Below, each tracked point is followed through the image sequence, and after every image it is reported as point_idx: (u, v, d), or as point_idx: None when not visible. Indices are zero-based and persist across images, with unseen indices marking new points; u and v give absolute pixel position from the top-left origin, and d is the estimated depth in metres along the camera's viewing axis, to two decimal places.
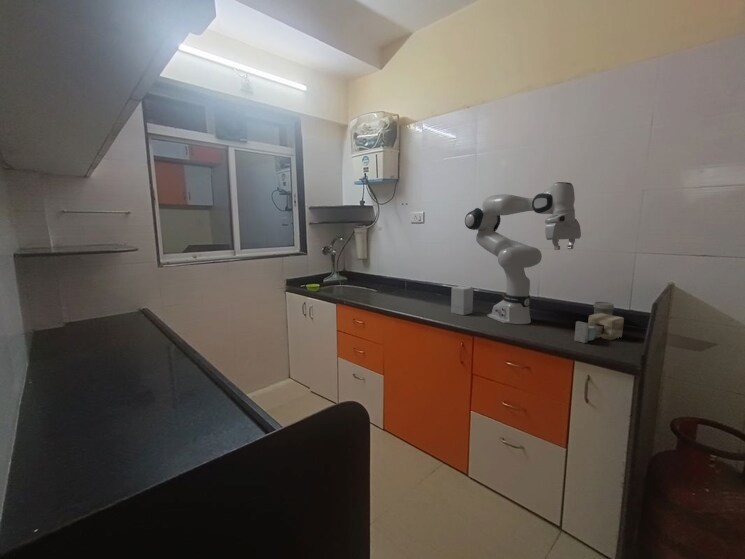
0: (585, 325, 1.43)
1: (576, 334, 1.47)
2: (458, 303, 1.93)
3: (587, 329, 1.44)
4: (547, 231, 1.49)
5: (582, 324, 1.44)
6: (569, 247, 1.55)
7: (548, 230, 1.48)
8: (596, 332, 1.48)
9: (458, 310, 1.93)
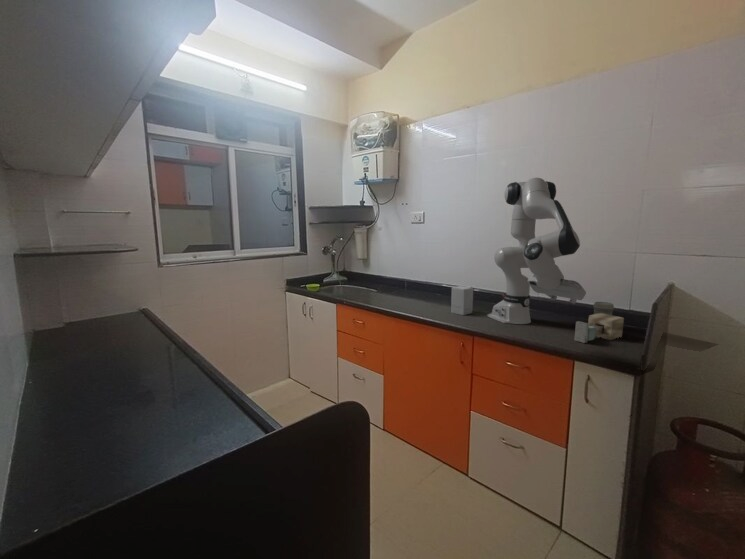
0: (585, 325, 1.43)
1: (576, 334, 1.47)
2: (458, 303, 1.93)
3: (587, 329, 1.44)
4: None
5: (582, 324, 1.44)
6: None
7: None
8: (596, 332, 1.48)
9: (458, 310, 1.93)
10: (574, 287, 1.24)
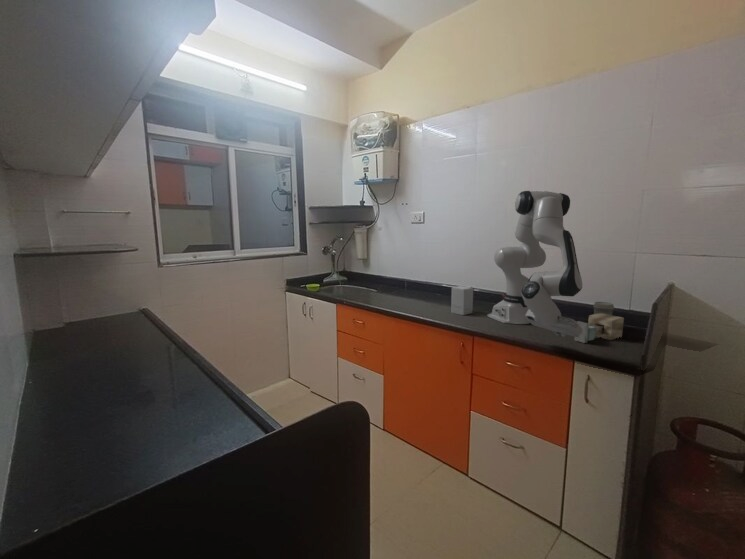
0: (585, 325, 1.43)
1: None
2: (458, 303, 1.93)
3: (587, 329, 1.44)
4: None
5: (582, 324, 1.44)
6: None
7: None
8: (596, 332, 1.48)
9: (458, 310, 1.93)
10: (571, 325, 1.26)
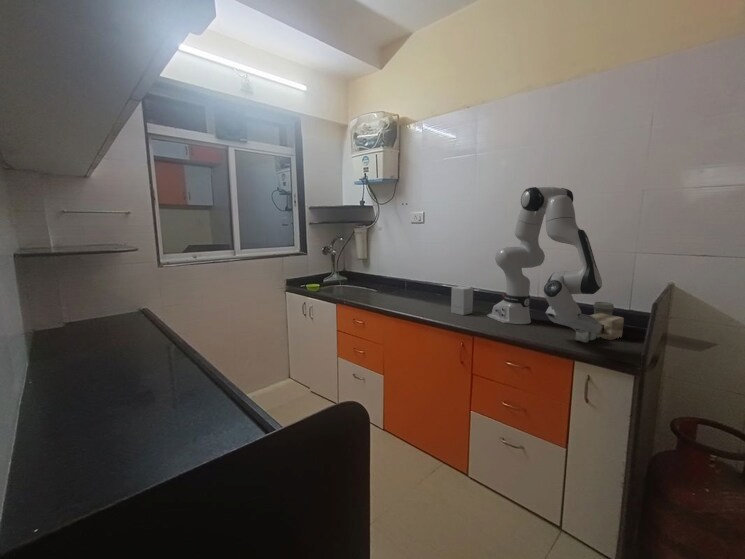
0: None
1: (577, 334, 1.47)
2: (458, 303, 1.93)
3: None
4: None
5: None
6: None
7: None
8: None
9: (458, 310, 1.93)
10: (591, 322, 1.32)
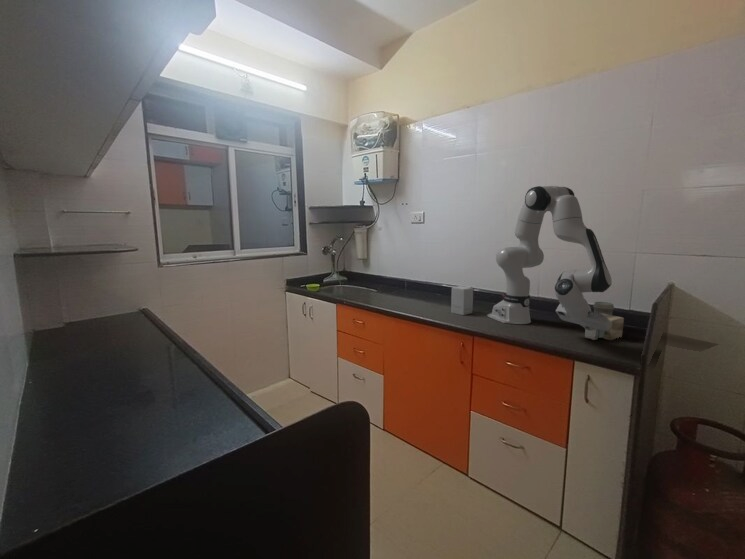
0: None
1: (586, 331, 1.50)
2: (458, 303, 1.93)
3: None
4: None
5: None
6: None
7: None
8: None
9: (458, 310, 1.93)
10: (601, 320, 1.35)
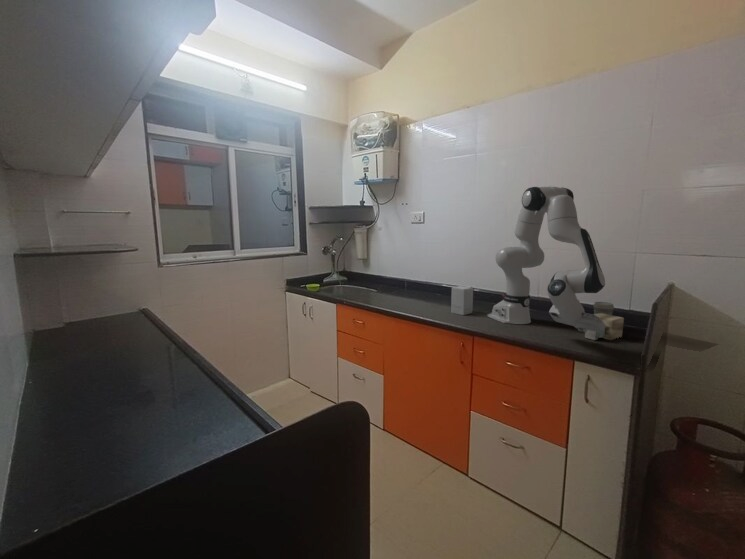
0: None
1: None
2: (458, 303, 1.93)
3: None
4: None
5: None
6: None
7: None
8: None
9: (458, 310, 1.93)
10: (595, 321, 1.33)
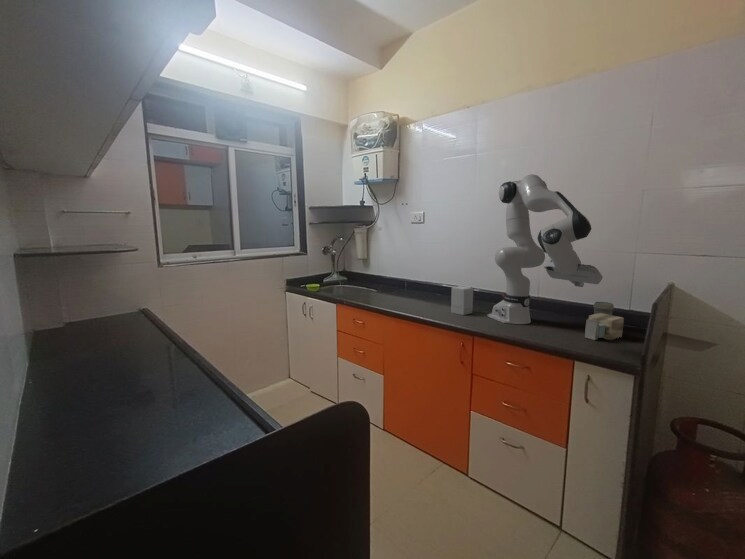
0: (595, 323, 1.46)
1: (586, 331, 1.50)
2: (458, 303, 1.93)
3: (597, 326, 1.47)
4: None
5: (592, 322, 1.48)
6: None
7: None
8: None
9: (458, 310, 1.93)
10: (591, 271, 1.28)
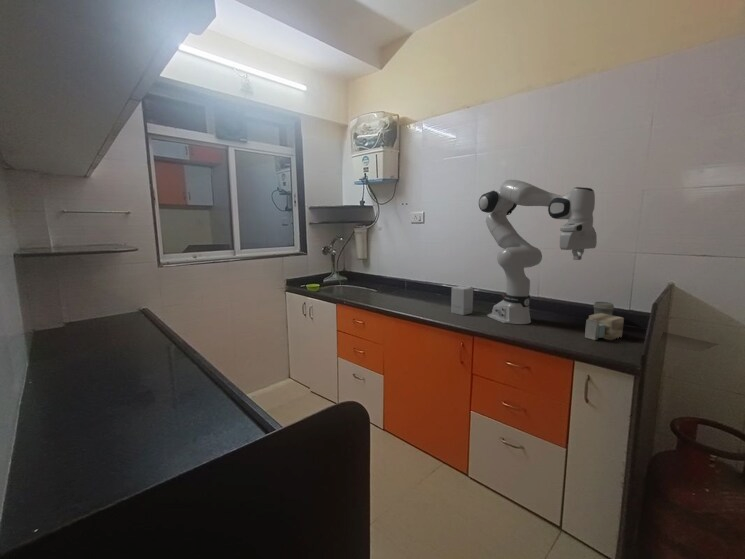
0: (595, 323, 1.46)
1: (586, 331, 1.50)
2: (458, 303, 1.93)
3: (597, 326, 1.47)
4: (561, 241, 1.39)
5: (592, 322, 1.48)
6: None
7: (563, 239, 1.39)
8: None
9: (458, 310, 1.93)
10: None
